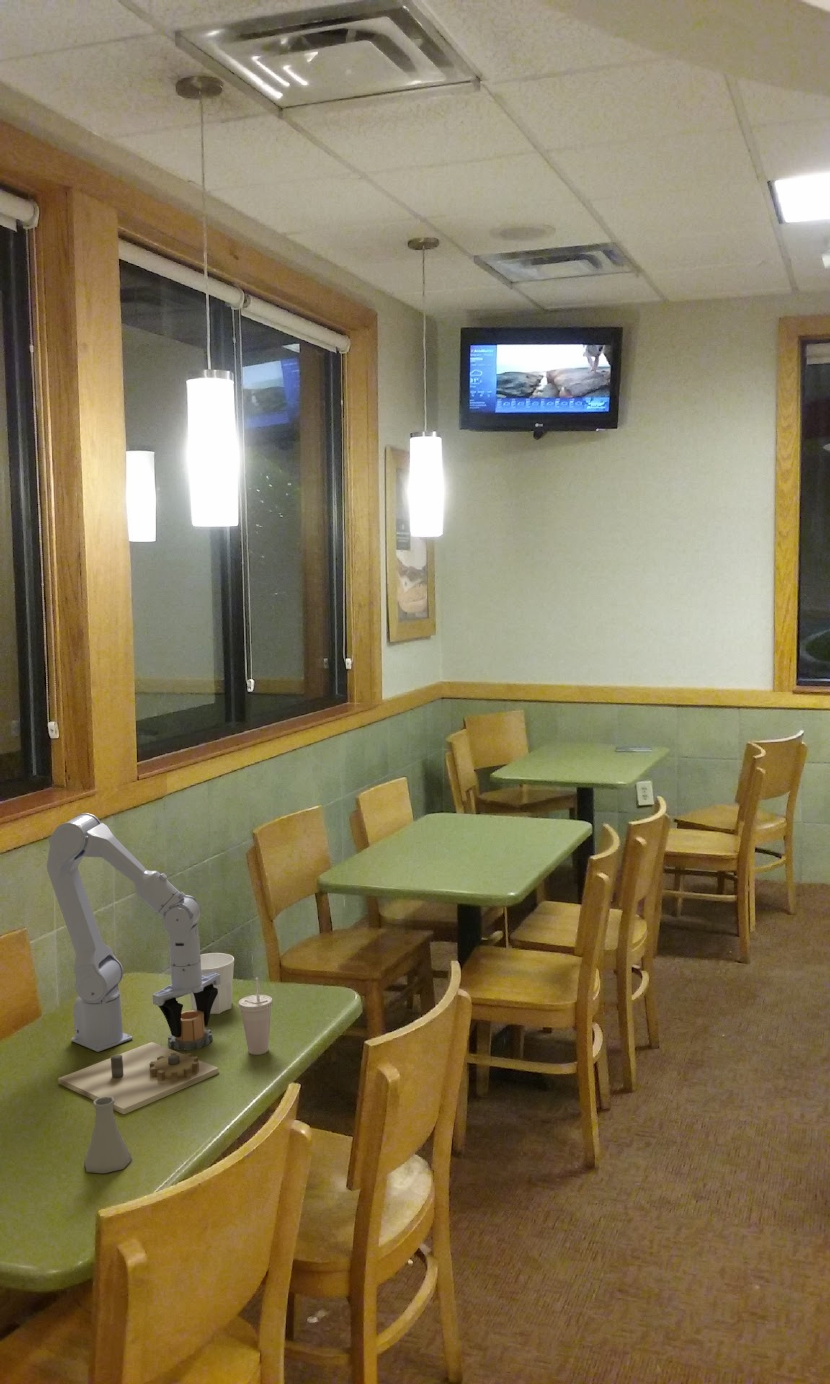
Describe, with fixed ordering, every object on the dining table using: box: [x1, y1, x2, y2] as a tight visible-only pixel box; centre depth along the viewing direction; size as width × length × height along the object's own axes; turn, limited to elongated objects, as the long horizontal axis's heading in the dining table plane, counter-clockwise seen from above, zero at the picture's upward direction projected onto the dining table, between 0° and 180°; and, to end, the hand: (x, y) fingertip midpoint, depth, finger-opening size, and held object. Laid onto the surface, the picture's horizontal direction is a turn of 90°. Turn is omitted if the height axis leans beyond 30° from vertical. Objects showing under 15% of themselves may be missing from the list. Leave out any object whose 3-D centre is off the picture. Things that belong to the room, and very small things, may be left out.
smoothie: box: [238, 977, 274, 1056], centre depth 221 cm, size 6×6×14 cm
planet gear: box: [167, 1009, 214, 1051], centre depth 227 cm, size 8×8×5 cm
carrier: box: [57, 1041, 220, 1115], centre depth 211 cm, size 20×20×4 cm
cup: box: [189, 952, 235, 1015], centre depth 244 cm, size 10×10×10 cm
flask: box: [83, 1096, 133, 1174], centre depth 181 cm, size 7×7×10 cm
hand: (189, 1030), depth 227 cm, fingers open, 6 cm apart
